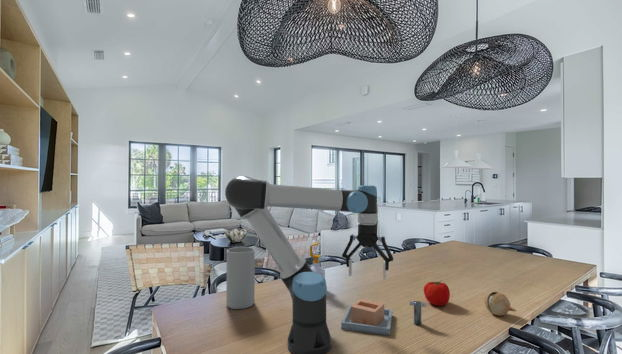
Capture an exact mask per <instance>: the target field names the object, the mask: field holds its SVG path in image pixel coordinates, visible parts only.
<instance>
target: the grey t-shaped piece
mask: <svg viewBox="0 0 622 354" xmlns="http://www.w3.org/2000/svg"><path fill="white" fill-rule="evenodd" d="M409 306H412V307H413V324H414V325H416V326H422V307H423V308H426V306H427V304H426V302H425V301H424V302H423V301H420V300H409Z"/></svg>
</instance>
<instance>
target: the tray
mask: <svg viewBox="0 0 622 354" xmlns="http://www.w3.org/2000/svg"><path fill="white" fill-rule="evenodd" d="M352 305H353V304H349V305H348V308H347V309H346V312H345V314H344V316H343V318H342V320H341V322H340V325H341V327H340V329H341V330H345V331H346V330H348V331H354V332H361V333H367V334H368V333H370V334H376V335H384V336H391V331H392V330H391V329H392V320H393V309H389V308H384V319H383V320H382V321H381V322H380V323H379V325H378V326H373V325H365V324H358V323H354V322H351V306H352Z"/></svg>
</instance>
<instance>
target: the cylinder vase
mask: <svg viewBox="0 0 622 354" xmlns="http://www.w3.org/2000/svg"><path fill="white" fill-rule="evenodd" d="M225 303H226V306H227V308H229V309H233V310H245V309H247V308H250V307H252V306H253V305H254V303H255V248H254V247H251V246H250V247H249V246H235V247H231V248H227V249H226V302H225Z"/></svg>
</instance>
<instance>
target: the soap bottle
mask: <svg viewBox="0 0 622 354" xmlns="http://www.w3.org/2000/svg"><path fill="white" fill-rule="evenodd" d="M320 243H321V242H315V243H313V244H311V245H310V246H309V256H310V257H311V258H313V259H314V260H313V261H312V266H310V268H311V269H312V270H313V272H315V273H317V274H320V275H322V276H323V277H324V278H325V279H326V270H325V268H323V267H322V266H320V260H319V258H321V257H322V254H313V246H317V245H318V246H319V244H320Z"/></svg>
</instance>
